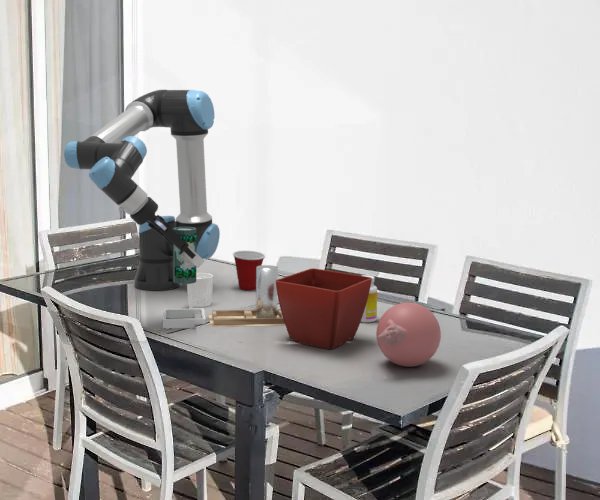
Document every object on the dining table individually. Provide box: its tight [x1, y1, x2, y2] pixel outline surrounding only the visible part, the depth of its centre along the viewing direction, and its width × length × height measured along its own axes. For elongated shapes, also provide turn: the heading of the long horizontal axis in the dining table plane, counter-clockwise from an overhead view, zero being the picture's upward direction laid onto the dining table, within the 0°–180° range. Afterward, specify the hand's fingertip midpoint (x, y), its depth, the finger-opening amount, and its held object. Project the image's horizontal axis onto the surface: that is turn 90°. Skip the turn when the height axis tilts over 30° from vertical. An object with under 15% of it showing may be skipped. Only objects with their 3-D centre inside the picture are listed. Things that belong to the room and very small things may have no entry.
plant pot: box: [276, 268, 372, 350], centre depth 217 cm, size 19×19×17 cm
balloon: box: [375, 302, 442, 368], centre depth 197 cm, size 15×20×15 cm
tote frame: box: [162, 307, 207, 330], centre depth 232 cm, size 12×12×2 cm
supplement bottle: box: [360, 274, 378, 324], centre depth 238 cm, size 7×7×13 cm
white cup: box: [186, 272, 214, 309], centre depth 248 cm, size 8×8×10 cm
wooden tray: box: [208, 308, 286, 328], centre depth 232 cm, size 13×22×3 cm, turn 99°
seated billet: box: [255, 264, 279, 318], centre depth 232 cm, size 6×6×15 cm
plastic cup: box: [232, 250, 266, 291], centre depth 273 cm, size 11×11×12 cm
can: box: [173, 227, 197, 285], centre depth 228 cm, size 6×6×15 cm
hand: (197, 261), depth 230 cm, fingers closed on can, 6 cm apart
